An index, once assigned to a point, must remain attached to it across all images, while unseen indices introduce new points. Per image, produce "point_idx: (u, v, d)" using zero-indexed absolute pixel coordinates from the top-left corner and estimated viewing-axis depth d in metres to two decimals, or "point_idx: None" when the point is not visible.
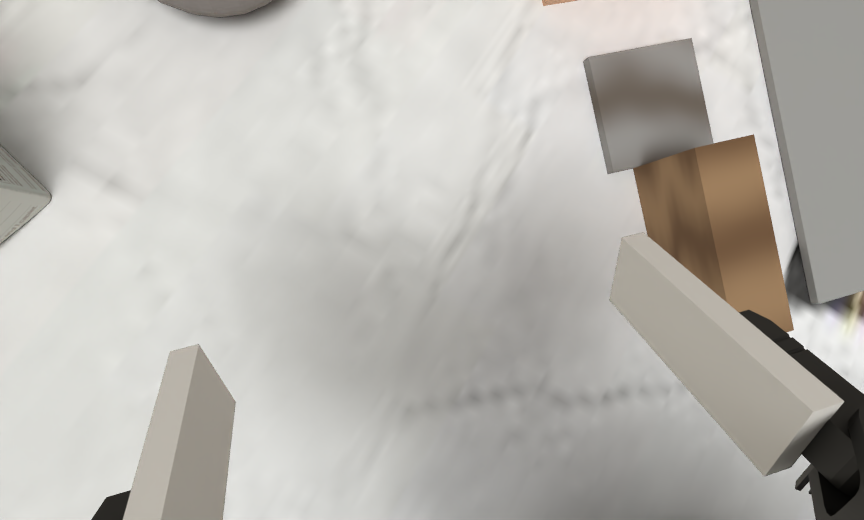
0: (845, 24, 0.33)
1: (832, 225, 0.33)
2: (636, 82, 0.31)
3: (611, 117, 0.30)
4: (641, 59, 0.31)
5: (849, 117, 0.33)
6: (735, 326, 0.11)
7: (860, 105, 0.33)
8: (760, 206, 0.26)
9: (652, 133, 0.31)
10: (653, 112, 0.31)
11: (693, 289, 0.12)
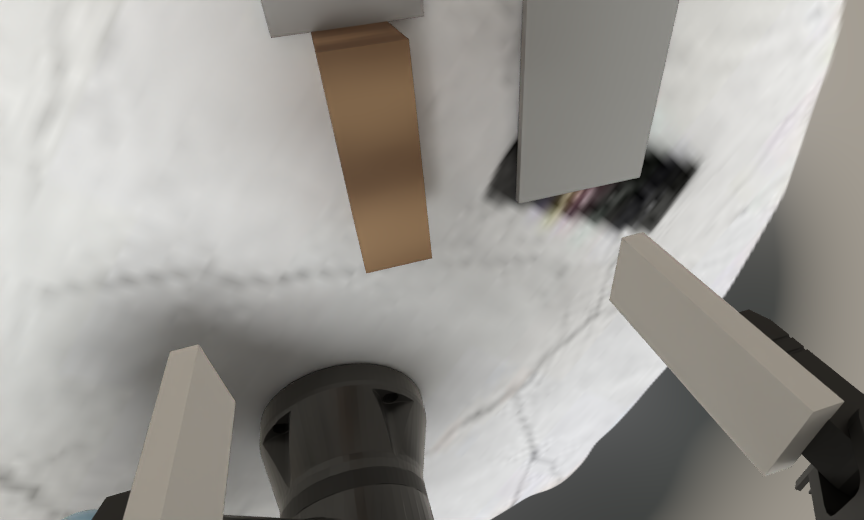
0: None
1: (556, 125, 0.29)
2: None
3: None
4: None
5: None
6: (735, 326, 0.11)
7: None
8: (408, 135, 0.22)
9: None
10: None
11: (693, 289, 0.12)
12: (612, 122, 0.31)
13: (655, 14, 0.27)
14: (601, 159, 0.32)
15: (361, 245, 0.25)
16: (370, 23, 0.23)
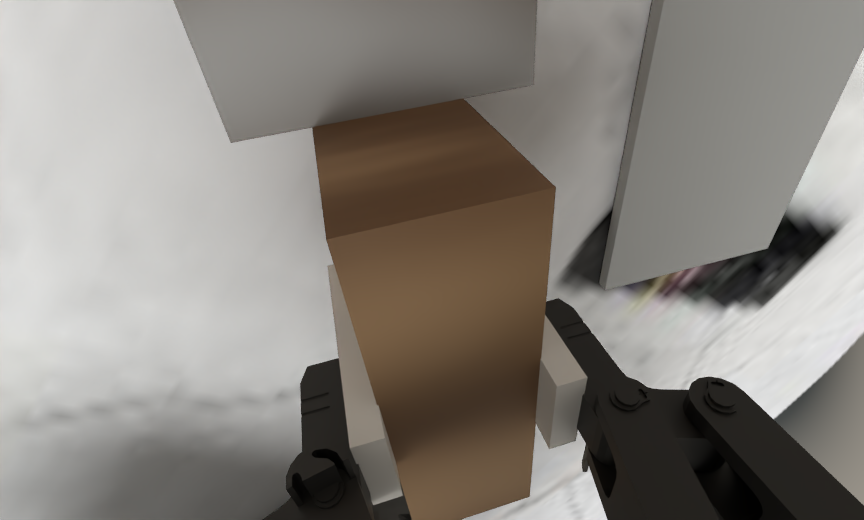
0: None
1: (672, 190, 0.20)
2: None
3: None
4: None
5: None
6: None
7: None
8: (520, 354, 0.10)
9: (353, 29, 0.10)
10: None
11: None
12: (747, 183, 0.21)
13: (843, 31, 0.17)
14: (723, 230, 0.23)
15: (410, 507, 0.13)
16: (431, 106, 0.11)
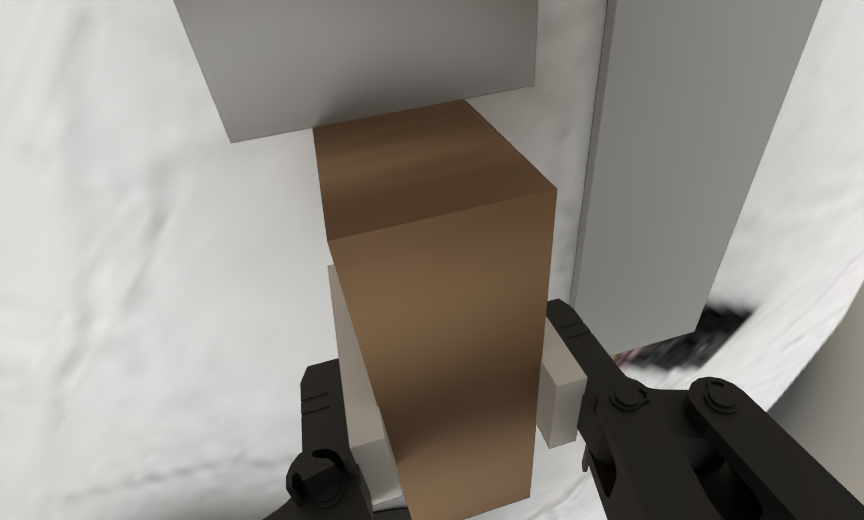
0: (756, 33, 0.19)
1: (611, 302, 0.27)
2: None
3: None
4: None
5: (690, 181, 0.23)
6: None
7: (713, 164, 0.23)
8: (521, 355, 0.10)
9: (354, 29, 0.10)
10: None
11: None
12: (670, 292, 0.28)
13: (724, 199, 0.25)
14: (656, 322, 0.30)
15: (411, 508, 0.13)
16: (432, 106, 0.11)
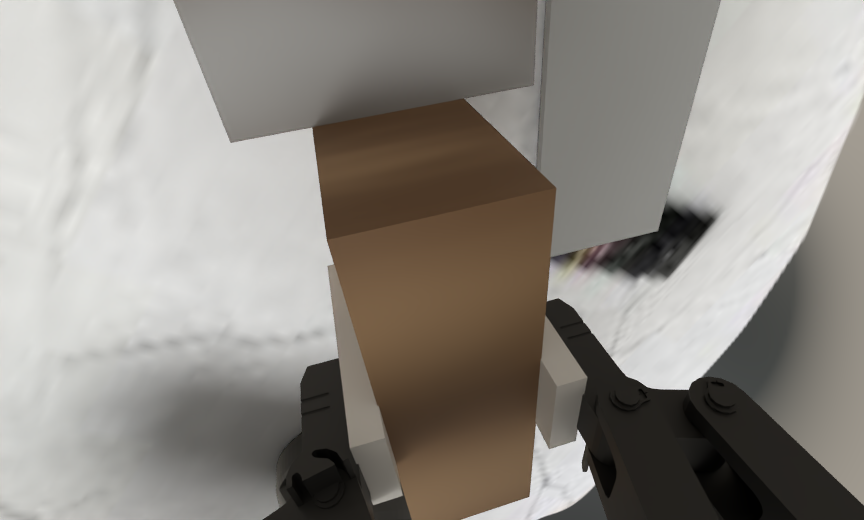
0: None
1: (574, 188, 0.29)
2: None
3: None
4: None
5: (643, 56, 0.25)
6: None
7: (664, 40, 0.24)
8: (520, 354, 0.10)
9: (353, 29, 0.10)
10: None
11: None
12: (631, 183, 0.30)
13: (677, 81, 0.26)
14: (619, 216, 0.32)
15: (410, 507, 0.13)
16: (432, 106, 0.11)
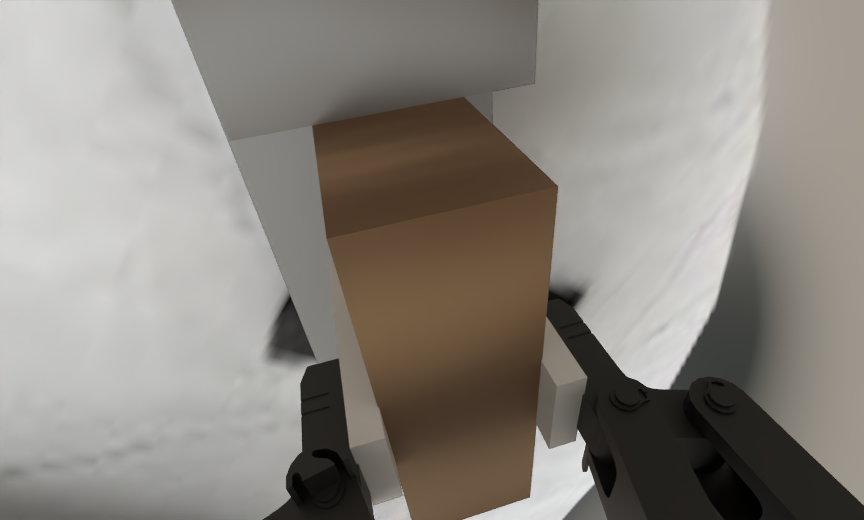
0: None
1: None
2: None
3: None
4: None
5: None
6: None
7: None
8: (521, 354, 0.10)
9: (353, 26, 0.10)
10: None
11: None
12: None
13: None
14: None
15: (410, 508, 0.13)
16: (432, 104, 0.11)
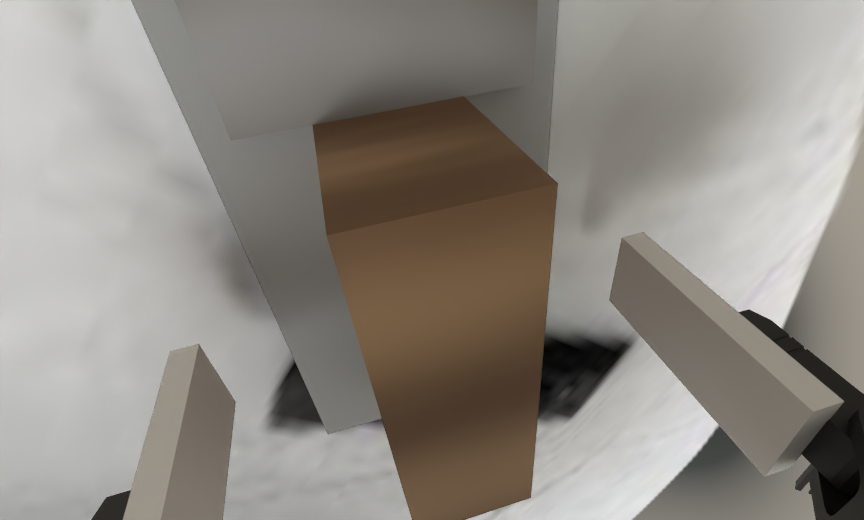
0: None
1: None
2: None
3: None
4: None
5: None
6: (735, 326, 0.11)
7: None
8: (522, 352, 0.10)
9: (354, 26, 0.10)
10: None
11: (693, 289, 0.12)
12: None
13: None
14: None
15: (411, 508, 0.13)
16: (432, 103, 0.11)
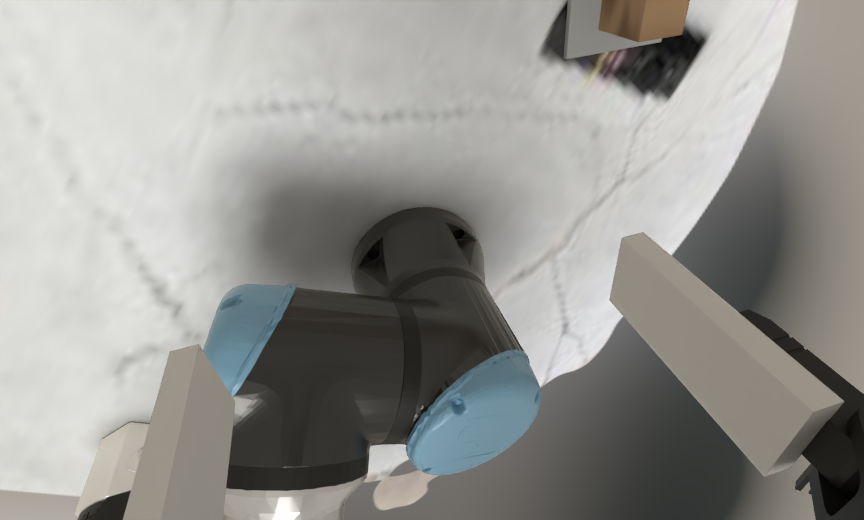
0: None
1: None
2: None
3: None
4: None
5: None
6: (735, 326, 0.11)
7: None
8: None
9: None
10: None
11: (693, 289, 0.12)
12: None
13: None
14: None
15: (644, 14, 0.35)
16: None
